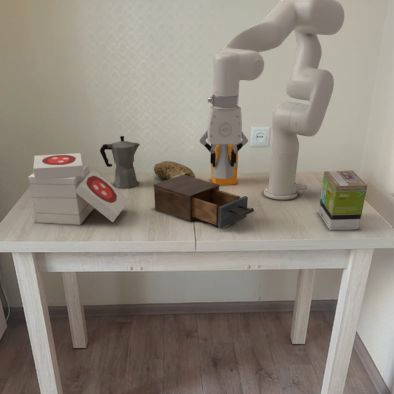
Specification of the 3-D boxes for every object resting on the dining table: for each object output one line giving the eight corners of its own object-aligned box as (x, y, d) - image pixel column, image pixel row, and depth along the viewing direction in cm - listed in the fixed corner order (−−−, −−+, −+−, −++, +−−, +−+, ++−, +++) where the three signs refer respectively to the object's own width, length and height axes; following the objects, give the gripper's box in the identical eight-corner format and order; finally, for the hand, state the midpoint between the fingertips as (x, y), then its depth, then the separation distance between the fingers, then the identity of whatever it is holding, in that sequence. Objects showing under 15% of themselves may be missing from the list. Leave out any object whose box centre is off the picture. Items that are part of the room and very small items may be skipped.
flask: (227, 181, 151) (228, 147, 145) (207, 177, 154) (207, 144, 148) (238, 175, 156) (239, 142, 150) (218, 171, 159) (219, 139, 153)
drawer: (259, 221, 161) (261, 200, 157) (234, 233, 152) (235, 212, 148) (211, 205, 172) (211, 186, 168) (184, 216, 164) (184, 196, 160)
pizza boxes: (117, 229, 157) (112, 172, 146) (28, 224, 160) (16, 167, 149) (131, 207, 173) (127, 154, 162) (49, 203, 175) (40, 151, 165)
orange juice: (236, 184, 194) (239, 130, 182) (215, 185, 192) (216, 131, 180) (231, 178, 200) (233, 125, 188) (210, 179, 198) (211, 126, 186)
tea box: (316, 213, 169) (323, 169, 160) (345, 212, 169) (353, 169, 161) (328, 230, 157) (336, 184, 148) (359, 230, 157) (369, 184, 149)
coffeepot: (139, 179, 198) (135, 131, 188) (145, 186, 191) (142, 137, 180) (101, 183, 194) (96, 135, 183) (106, 190, 187) (101, 141, 176)
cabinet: (218, 209, 171) (219, 184, 166) (190, 221, 162) (190, 195, 157) (183, 198, 180) (183, 174, 175) (154, 209, 171) (153, 184, 166)
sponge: (198, 188, 193) (181, 164, 205) (196, 171, 187) (179, 146, 199) (167, 198, 191) (152, 173, 203) (164, 180, 185) (148, 155, 197)
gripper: (196, 104, 139) (196, 169, 150) (256, 104, 140) (251, 169, 150) (195, 99, 145) (195, 162, 156) (252, 99, 146) (248, 162, 157)
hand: (223, 165), depth 153 cm, fingers closed on flask, 5 cm apart
